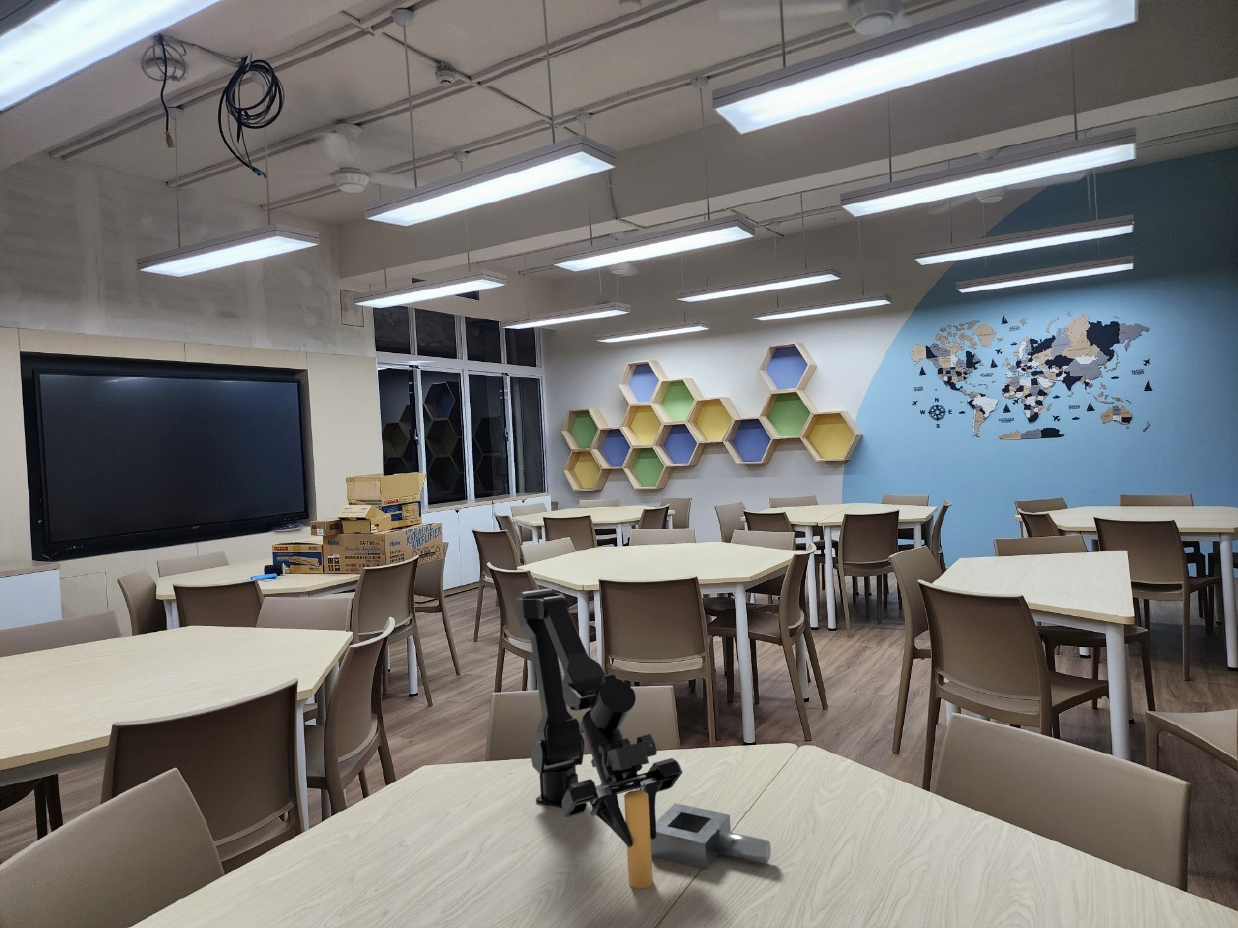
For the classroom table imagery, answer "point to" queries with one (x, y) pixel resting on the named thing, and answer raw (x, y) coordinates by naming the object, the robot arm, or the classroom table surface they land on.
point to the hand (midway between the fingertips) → (642, 842)
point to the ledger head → (702, 838)
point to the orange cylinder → (638, 839)
